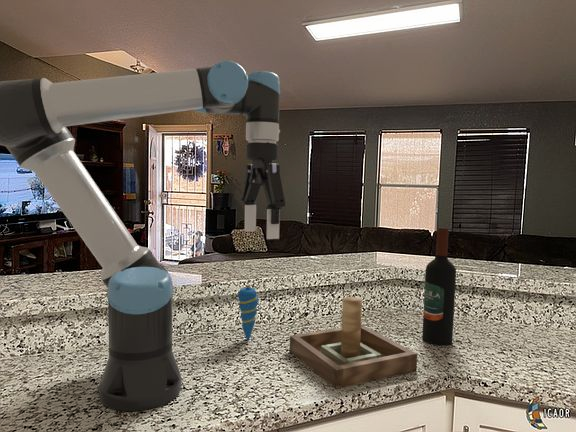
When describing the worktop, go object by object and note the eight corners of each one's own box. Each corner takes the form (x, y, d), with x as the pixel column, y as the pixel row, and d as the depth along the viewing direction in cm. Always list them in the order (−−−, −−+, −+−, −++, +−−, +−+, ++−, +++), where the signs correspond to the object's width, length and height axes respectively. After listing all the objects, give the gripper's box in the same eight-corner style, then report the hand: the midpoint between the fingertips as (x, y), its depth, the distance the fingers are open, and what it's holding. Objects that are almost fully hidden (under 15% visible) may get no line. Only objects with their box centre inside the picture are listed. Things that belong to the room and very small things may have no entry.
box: (336, 389, 90) (336, 370, 89) (289, 351, 108) (289, 335, 108) (416, 371, 99) (417, 353, 99) (360, 339, 118) (361, 324, 117)
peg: (347, 363, 101) (349, 302, 100) (337, 356, 105) (338, 297, 103) (363, 360, 103) (365, 300, 101) (352, 353, 107) (354, 296, 105)
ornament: (248, 344, 112) (248, 286, 111) (233, 339, 115) (233, 282, 114) (261, 339, 116) (262, 282, 115) (246, 334, 119) (247, 279, 118)
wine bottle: (456, 346, 115) (463, 230, 112) (426, 345, 115) (432, 229, 112) (446, 335, 122) (452, 226, 119) (418, 334, 122) (424, 225, 120)
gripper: (302, 140, 93) (300, 241, 94) (257, 146, 115) (255, 228, 117) (269, 138, 89) (267, 243, 91) (229, 144, 112) (228, 229, 113)
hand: (260, 235), depth 104 cm, fingers open, 13 cm apart
